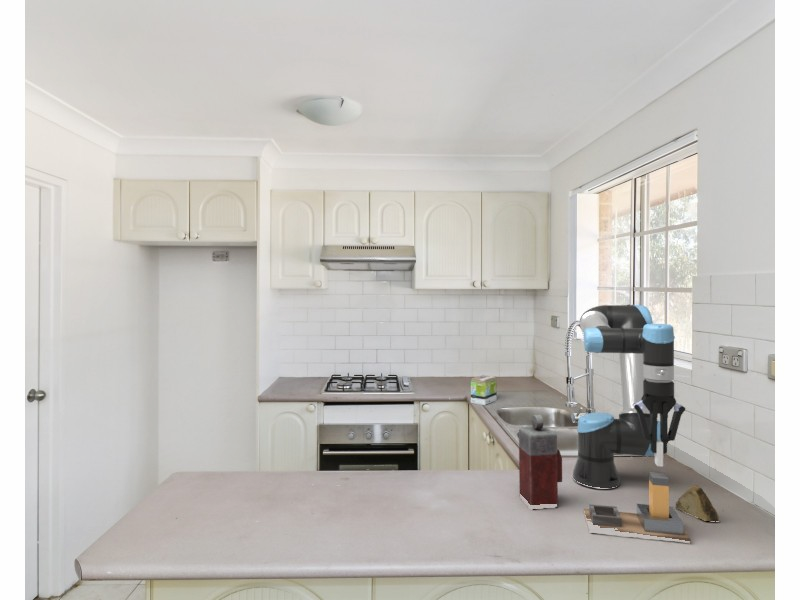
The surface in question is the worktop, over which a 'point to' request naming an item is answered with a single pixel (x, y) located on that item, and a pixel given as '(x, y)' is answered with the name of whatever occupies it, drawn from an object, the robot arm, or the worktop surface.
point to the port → (659, 521)
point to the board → (622, 521)
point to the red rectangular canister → (539, 463)
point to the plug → (658, 495)
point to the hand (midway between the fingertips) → (658, 464)
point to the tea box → (483, 389)
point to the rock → (697, 504)
